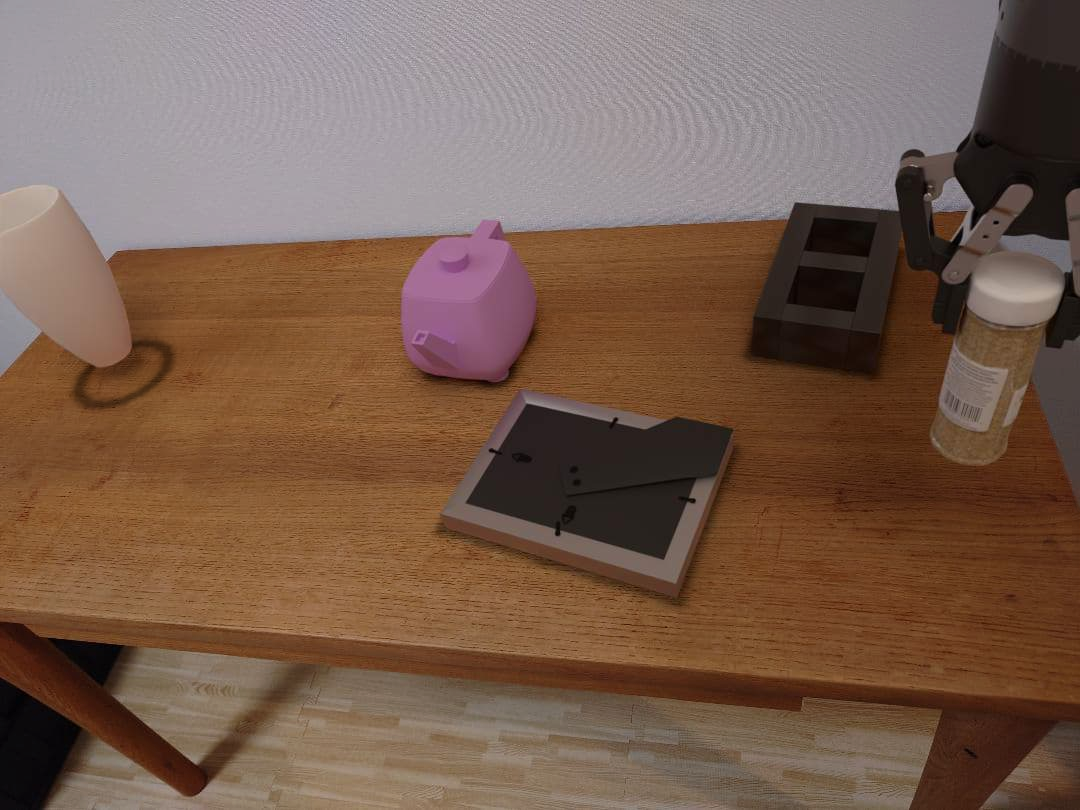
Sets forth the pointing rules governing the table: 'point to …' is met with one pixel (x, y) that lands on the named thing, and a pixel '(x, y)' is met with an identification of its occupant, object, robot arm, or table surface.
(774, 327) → the holder
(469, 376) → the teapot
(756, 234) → the table surface
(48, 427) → the table surface
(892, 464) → the table surface
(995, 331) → the spice jar
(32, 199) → the peach conical vase
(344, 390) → the table surface
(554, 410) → the picture frame
